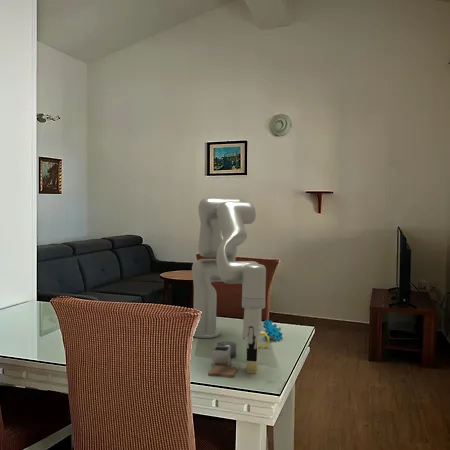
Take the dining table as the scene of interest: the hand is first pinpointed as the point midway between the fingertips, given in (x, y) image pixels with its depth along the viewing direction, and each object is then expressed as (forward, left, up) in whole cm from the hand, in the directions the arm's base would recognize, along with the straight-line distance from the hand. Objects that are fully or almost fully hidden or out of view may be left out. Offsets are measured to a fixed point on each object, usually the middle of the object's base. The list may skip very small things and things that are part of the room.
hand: (252, 358), depth 157 cm
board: (-9, -3, -4) cm, 10 cm away
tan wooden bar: (0, 0, -4) cm, 4 cm away
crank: (-11, +10, -4) cm, 16 cm away
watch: (0, +29, -5) cm, 29 cm away
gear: (+4, +42, -5) cm, 43 cm away
